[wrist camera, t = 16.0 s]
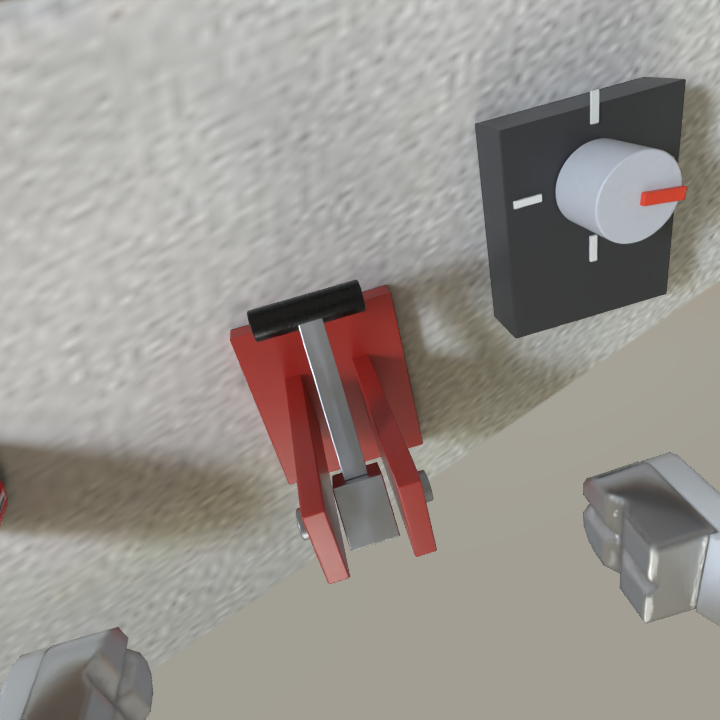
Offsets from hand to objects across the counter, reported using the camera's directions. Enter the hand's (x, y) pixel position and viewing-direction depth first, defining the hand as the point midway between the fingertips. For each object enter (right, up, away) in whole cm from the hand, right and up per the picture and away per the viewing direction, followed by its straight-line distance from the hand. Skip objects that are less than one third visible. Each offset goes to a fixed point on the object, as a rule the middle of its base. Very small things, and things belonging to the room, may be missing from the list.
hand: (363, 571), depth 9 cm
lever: (-1, +1, +16) cm, 16 cm away
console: (+11, +12, +20) cm, 26 cm away
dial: (+11, +12, +17) cm, 24 cm away
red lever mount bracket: (-2, +2, +23) cm, 23 cm away
